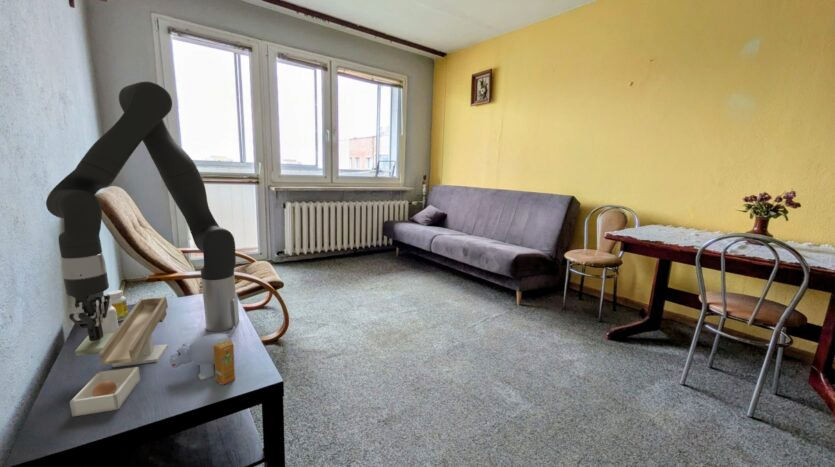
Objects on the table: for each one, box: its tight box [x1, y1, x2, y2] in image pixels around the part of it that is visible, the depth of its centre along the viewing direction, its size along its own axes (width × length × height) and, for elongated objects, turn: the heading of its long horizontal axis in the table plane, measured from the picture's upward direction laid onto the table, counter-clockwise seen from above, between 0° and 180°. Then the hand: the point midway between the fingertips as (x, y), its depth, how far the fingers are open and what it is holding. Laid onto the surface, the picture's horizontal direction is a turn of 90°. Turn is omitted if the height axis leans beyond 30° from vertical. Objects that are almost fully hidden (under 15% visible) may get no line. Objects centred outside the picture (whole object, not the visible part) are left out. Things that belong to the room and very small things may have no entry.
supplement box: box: [214, 340, 236, 386], centre depth 85 cm, size 3×3×10 cm
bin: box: [69, 366, 141, 418], centre depth 79 cm, size 8×11×4 cm
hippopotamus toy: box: [169, 327, 236, 381], centre depth 90 cm, size 11×15×10 cm
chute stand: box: [111, 333, 169, 368], centre depth 95 cm, size 10×8×6 cm
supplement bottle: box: [106, 289, 129, 322], centre depth 116 cm, size 5×5×10 cm
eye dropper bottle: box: [101, 299, 119, 334], centre depth 107 cm, size 4×6×12 cm
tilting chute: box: [74, 296, 169, 366], centre depth 93 cm, size 13×24×6 cm, turn 18°
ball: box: [93, 381, 117, 397], centre depth 78 cm, size 4×4×4 cm
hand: (96, 339), depth 86 cm, fingers closed
